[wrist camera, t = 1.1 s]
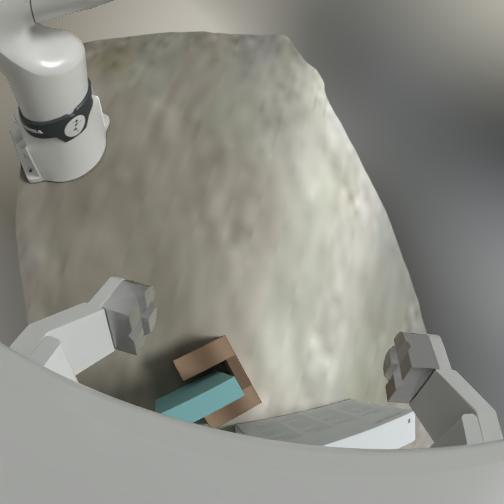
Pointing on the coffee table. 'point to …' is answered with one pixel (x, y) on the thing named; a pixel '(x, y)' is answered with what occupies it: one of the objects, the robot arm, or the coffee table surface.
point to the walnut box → (224, 353)
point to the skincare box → (339, 426)
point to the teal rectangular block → (200, 397)
